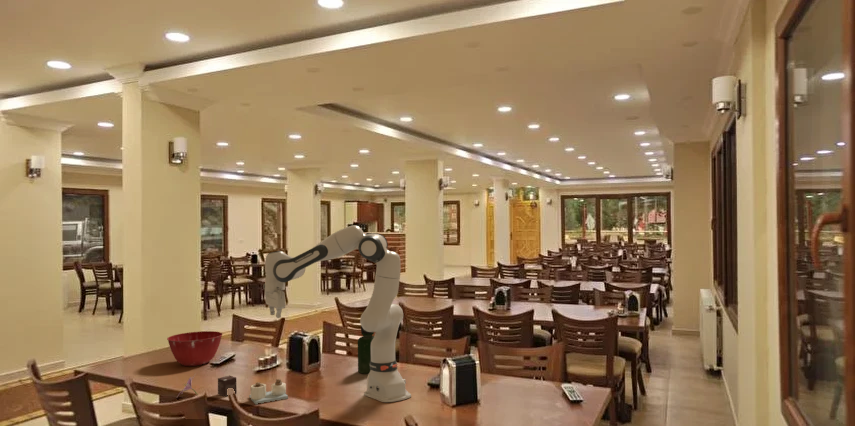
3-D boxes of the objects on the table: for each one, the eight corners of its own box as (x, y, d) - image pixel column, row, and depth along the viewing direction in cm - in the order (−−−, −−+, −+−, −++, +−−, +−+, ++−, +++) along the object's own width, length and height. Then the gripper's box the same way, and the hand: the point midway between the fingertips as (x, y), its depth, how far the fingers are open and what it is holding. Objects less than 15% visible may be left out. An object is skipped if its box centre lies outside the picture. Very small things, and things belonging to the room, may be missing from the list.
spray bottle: (379, 368, 285) (379, 321, 285) (376, 374, 275) (375, 324, 275) (360, 368, 286) (359, 321, 286) (355, 374, 276) (355, 324, 276)
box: (229, 391, 251) (229, 375, 251) (237, 393, 247) (236, 377, 247) (217, 394, 246) (217, 378, 246) (224, 397, 242) (224, 380, 242)
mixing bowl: (167, 360, 310) (167, 333, 311) (220, 354, 322) (220, 328, 323) (166, 372, 285) (166, 343, 285) (224, 365, 297) (224, 337, 297)
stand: (289, 398, 239) (289, 381, 239) (255, 404, 231) (255, 387, 231) (281, 391, 248) (281, 375, 248) (249, 397, 240) (249, 380, 241)
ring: (267, 397, 236) (267, 386, 236) (253, 400, 233) (252, 388, 233) (263, 394, 241) (263, 382, 242) (249, 396, 238) (249, 385, 238)
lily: (193, 392, 253) (182, 375, 252) (211, 384, 249) (200, 367, 248) (176, 408, 242) (165, 391, 241) (195, 400, 238) (183, 382, 237)
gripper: (288, 287, 244) (289, 318, 244) (275, 283, 261) (275, 312, 261) (274, 288, 241) (275, 320, 240) (262, 284, 258) (262, 314, 258)
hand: (275, 316), depth 251 cm, fingers open, 8 cm apart
